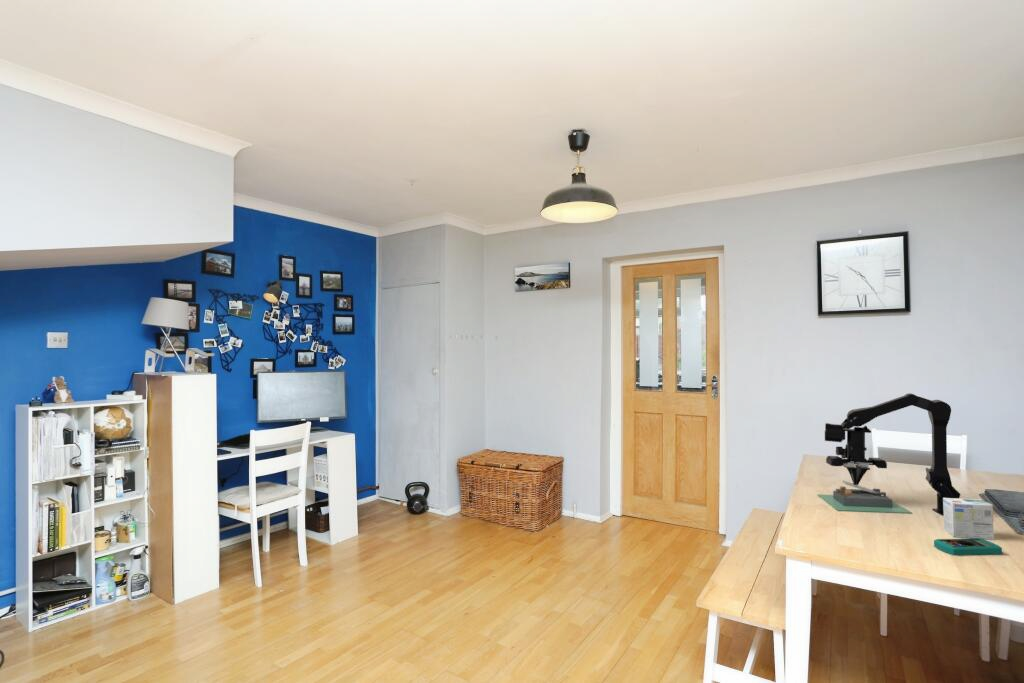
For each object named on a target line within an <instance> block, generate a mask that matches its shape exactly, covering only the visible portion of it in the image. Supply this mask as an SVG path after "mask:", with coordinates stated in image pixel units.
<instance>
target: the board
mask: <svg viewBox="0 0 1024 683" xmlns="http://www.w3.org/2000/svg"><path fill="white" fill-rule="evenodd" d="M817 497H818V498H820V499H822V500H823V501H824V502H825V503H826V504H828V505H829V506H831V507H832V508H833V509H835V510H836V511H837V512H852V513H853V512H855V513H857V512H858V513H881V514H882V513H883V514H907V515H908V514H909V515H911V514H912V515H913V512H912V511H910V510H908V509H907V508H905V507H903V506H902V505H899V503H896V502H895V501H894V500H892V508H882V507H854V506H843V505H842V504H840V503H839V502H838V501H836V500H835V499H834V498H833V494H822V493H821V494H817Z"/></svg>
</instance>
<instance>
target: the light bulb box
mask: <svg viewBox="0 0 1024 683" xmlns="http://www.w3.org/2000/svg"><path fill="white" fill-rule="evenodd" d="M993 506H994V505H993V504H992V503H989V502H987V501H985V500H983V499H980V498H961V497H959V498H943V510H944V515H943V530H944V531H945V532H946V533H947V534H949V535H951V536H952V537H953V538H964V539H969V538H982V539H984V540H995V539H994V538H995V537H994V536H995V534H994V531H995V530H994V509H993V508H994V507H993Z"/></svg>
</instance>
